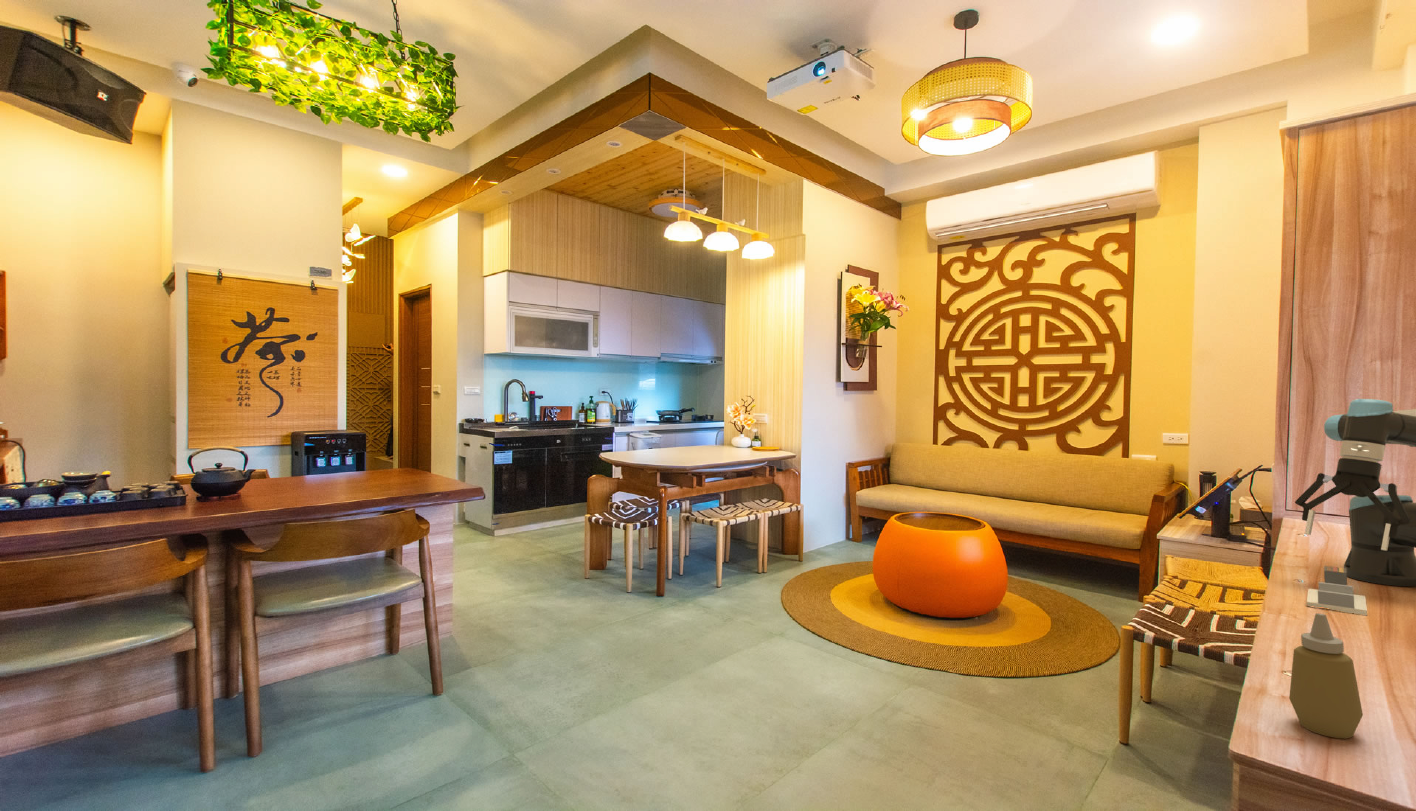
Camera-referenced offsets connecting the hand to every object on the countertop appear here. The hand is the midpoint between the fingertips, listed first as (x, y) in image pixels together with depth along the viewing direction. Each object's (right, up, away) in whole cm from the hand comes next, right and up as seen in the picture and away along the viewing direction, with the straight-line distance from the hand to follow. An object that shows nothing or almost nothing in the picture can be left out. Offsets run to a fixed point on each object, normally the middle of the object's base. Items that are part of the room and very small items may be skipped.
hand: (1344, 542), depth 154 cm
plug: (+2, -14, +4) cm, 14 cm away
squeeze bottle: (-65, -16, -59) cm, 89 cm away
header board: (-7, -14, -5) cm, 16 cm away
